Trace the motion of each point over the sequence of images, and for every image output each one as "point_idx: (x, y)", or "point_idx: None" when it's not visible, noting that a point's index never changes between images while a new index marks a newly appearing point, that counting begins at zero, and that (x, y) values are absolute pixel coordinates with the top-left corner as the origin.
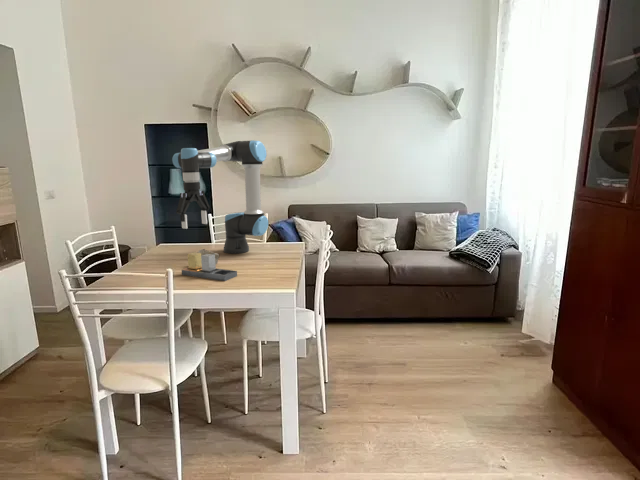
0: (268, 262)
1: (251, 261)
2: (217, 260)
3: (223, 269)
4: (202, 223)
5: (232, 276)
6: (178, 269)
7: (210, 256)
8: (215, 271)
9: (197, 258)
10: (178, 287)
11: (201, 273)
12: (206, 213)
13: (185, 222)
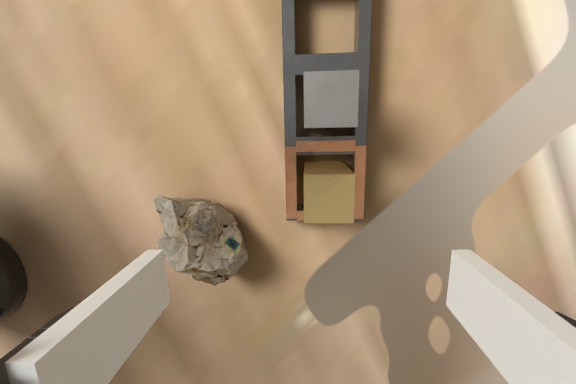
0: (34, 9)
1: (64, 97)
2: (170, 198)
3: (285, 55)
4: (168, 297)
5: None
6: (302, 280)
7: (342, 70)
8: (328, 64)
9: (332, 170)
10: (509, 97)
11: (366, 111)
12: (53, 324)
13: (518, 292)
